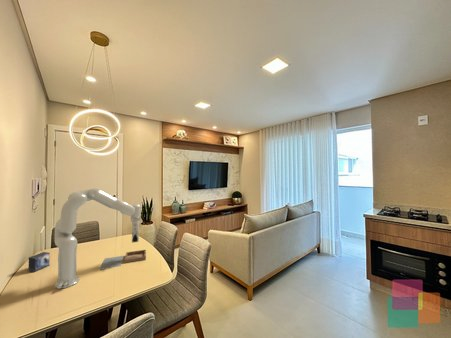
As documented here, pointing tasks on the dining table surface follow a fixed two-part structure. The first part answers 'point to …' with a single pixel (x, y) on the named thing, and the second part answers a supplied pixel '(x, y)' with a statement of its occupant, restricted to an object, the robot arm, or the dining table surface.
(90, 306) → the dining table surface
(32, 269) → the small box
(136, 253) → the walnut bin
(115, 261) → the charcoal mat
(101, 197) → the robot arm
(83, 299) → the dining table surface
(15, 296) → the dining table surface
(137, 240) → the sage block
